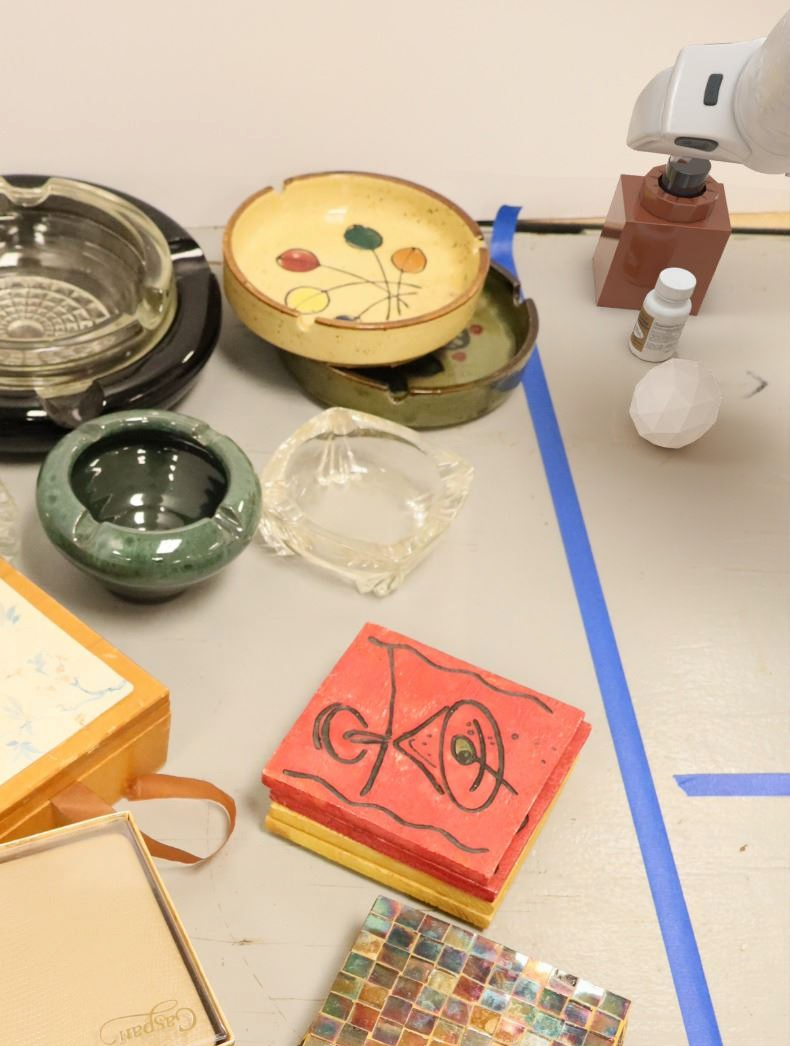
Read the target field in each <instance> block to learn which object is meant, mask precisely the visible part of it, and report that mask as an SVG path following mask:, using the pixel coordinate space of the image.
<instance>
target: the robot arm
mask: <svg viewBox="0 0 790 1046" xmlns="http://www.w3.org/2000/svg"><path fill="white" fill-rule="evenodd" d="M630 116H631V117H630V119H629V124H628V130H627V134H626V146H627V147H628V148H629V149H631V150H633V151H637V152H644V153H653V154H660V155H668V156H671V160H670V162H676V163H685V164H688V163H689V161H691V159H692V158H698V159H706V160H709V161H716V162H722V163H730V164H738V165H743V166H744V167H746V168H748V169H749V170H752V171H754V172H757V173H761V174H765V175H784V177H787V178H790V8H789V9H788V10H787V11H786V12H785V13H784V15H783V16H782V17H781V18H780V19H779V21H778V22H777V23H776V24H775V25H774V26H773V28H772V29H771V31H770V32H769V33H768V35H766V36H761V37H758V38H752V39H749V40H744V41H738V42H737V41H735V42H723V43H703V44H688V45H686V46H684V47H682V48H681V49H679V52H678V54H677V57H676V59H675V63H674V65H673V66H670V67H667V68H664V69H663V70H661V71H659V72H658V73H657V74H655V75H654V77H653V78H651V80H650V81H649V82H648V83H647V84H646V85H645V87H644V88H643V89H642V90H641V92H640V93H639V95H638V96H637V98H636V100H635V102H634V105H633V108H632V113H631V115H630Z"/></svg>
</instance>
